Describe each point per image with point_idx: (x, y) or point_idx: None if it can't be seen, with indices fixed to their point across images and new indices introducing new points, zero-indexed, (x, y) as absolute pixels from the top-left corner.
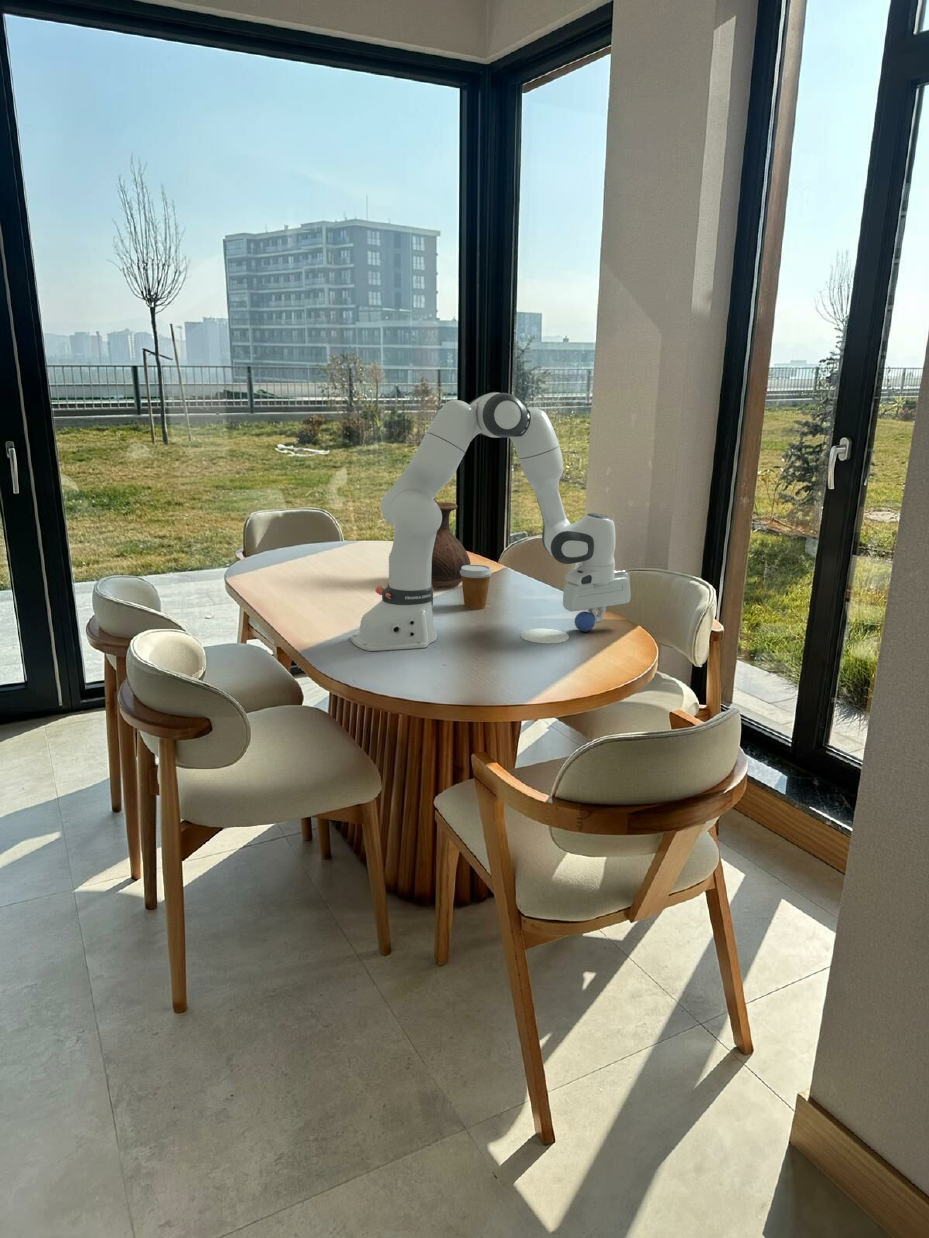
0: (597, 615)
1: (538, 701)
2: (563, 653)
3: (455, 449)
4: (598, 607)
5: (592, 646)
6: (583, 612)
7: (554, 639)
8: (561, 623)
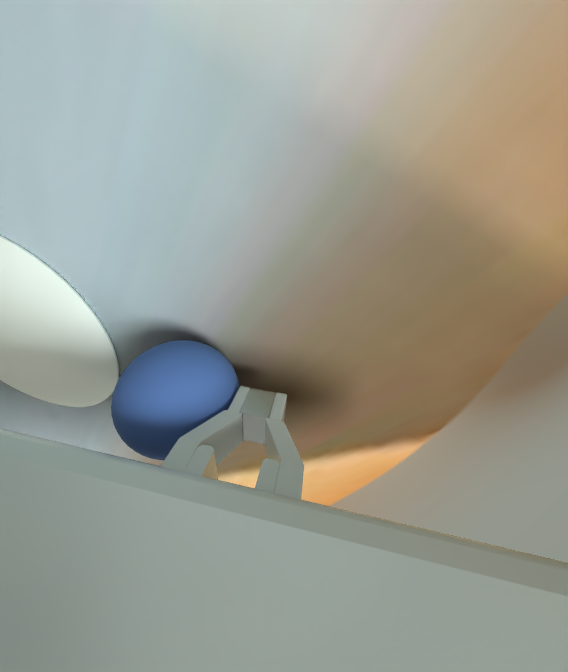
0: (264, 425)
1: None
2: None
3: None
4: (259, 479)
5: (162, 461)
6: (130, 444)
7: (55, 383)
8: (144, 178)
